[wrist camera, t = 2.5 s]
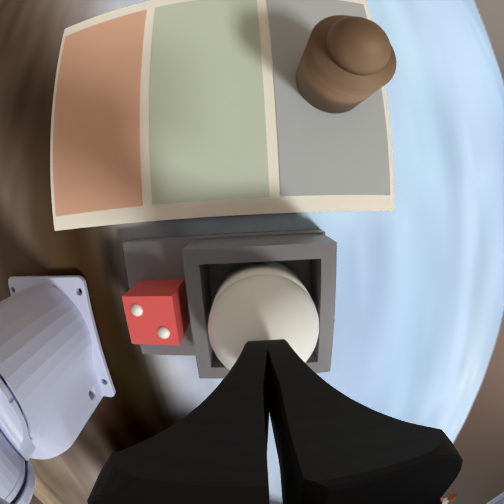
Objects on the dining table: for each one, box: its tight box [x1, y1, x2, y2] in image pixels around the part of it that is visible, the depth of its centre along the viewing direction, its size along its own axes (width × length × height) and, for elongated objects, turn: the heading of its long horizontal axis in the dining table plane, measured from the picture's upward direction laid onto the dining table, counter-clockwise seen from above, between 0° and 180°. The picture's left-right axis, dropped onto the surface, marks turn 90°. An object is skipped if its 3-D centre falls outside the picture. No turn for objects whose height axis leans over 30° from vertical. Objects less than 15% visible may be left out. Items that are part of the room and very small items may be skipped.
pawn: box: [296, 15, 396, 114], centre depth 11 cm, size 4×4×6 cm
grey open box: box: [122, 229, 337, 378], centre depth 15 cm, size 7×11×4 cm, turn 93°
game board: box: [50, 0, 394, 231], centre depth 14 cm, size 15×21×1 cm
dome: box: [208, 261, 319, 370], centre depth 12 cm, size 5×5×5 cm
